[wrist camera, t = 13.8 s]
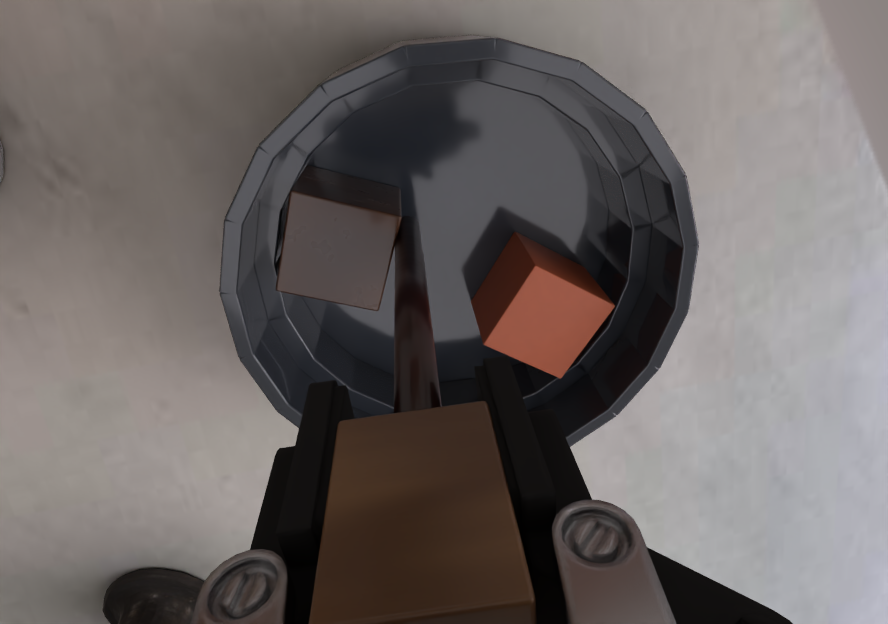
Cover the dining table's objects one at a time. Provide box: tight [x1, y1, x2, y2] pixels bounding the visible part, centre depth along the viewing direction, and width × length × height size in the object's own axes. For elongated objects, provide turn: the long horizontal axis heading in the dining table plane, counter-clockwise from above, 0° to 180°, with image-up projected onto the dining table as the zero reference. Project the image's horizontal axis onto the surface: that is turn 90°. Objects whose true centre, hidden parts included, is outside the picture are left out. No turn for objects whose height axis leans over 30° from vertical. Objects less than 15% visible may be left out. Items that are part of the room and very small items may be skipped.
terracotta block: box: [471, 232, 615, 378], centre depth 24 cm, size 4×4×4 cm
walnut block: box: [276, 165, 402, 311], centre depth 22 cm, size 4×4×4 cm
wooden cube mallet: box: [309, 216, 537, 624], centre depth 15 cm, size 3×3×18 cm
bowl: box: [219, 35, 699, 447], centre depth 23 cm, size 17×17×6 cm
